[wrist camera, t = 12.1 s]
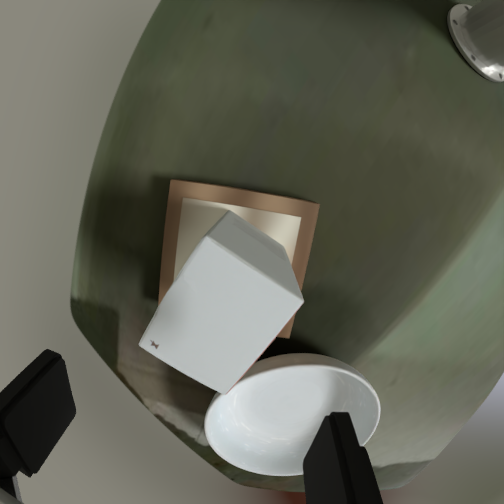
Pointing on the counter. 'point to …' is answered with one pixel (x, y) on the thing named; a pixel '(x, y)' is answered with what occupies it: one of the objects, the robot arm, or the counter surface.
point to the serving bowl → (287, 411)
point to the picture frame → (244, 205)
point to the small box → (224, 305)
